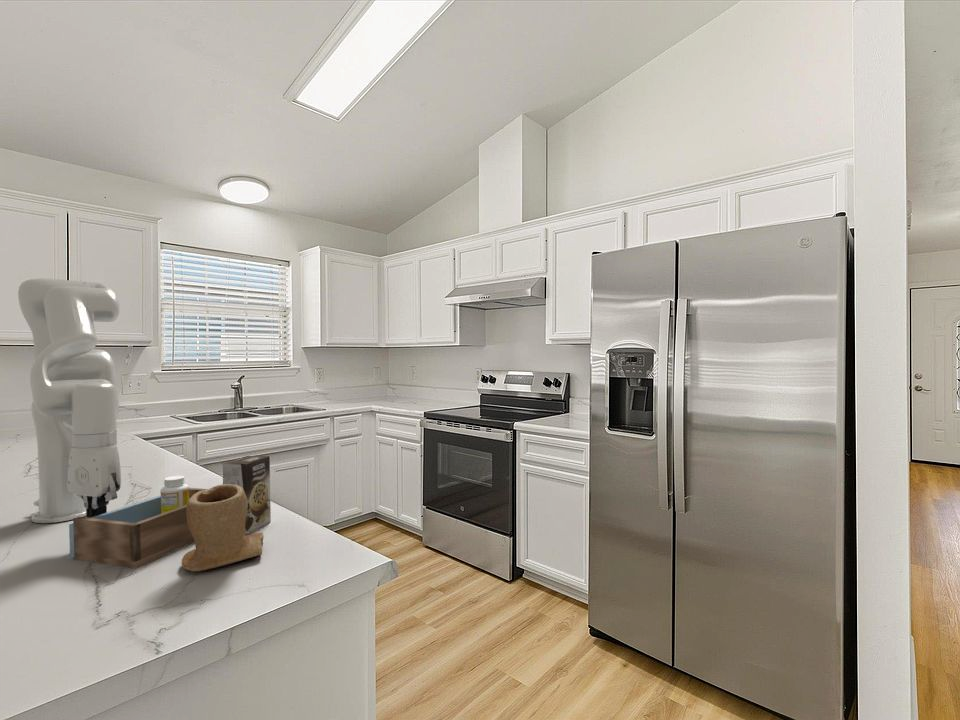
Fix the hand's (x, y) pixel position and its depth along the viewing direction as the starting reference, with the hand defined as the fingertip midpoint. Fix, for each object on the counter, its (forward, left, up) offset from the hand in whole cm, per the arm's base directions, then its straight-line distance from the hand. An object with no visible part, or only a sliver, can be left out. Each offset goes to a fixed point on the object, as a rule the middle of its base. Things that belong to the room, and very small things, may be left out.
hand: (96, 524), depth 108 cm
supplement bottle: (+10, +11, -2) cm, 15 cm away
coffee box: (+24, +17, -5) cm, 30 cm away
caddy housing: (+11, +5, -4) cm, 13 cm away
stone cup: (+34, 0, -5) cm, 35 cm away
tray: (+10, +5, -4) cm, 12 cm away
